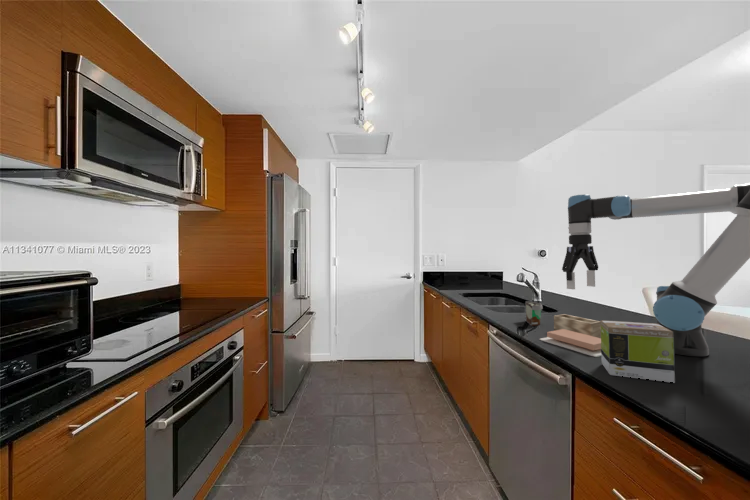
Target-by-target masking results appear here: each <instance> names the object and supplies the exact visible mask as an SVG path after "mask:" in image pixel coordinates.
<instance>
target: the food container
mask: <svg viewBox="0 0 750 500" xmlns="http://www.w3.org/2000/svg"><path fill="white" fill-rule="evenodd" d="M543 309H544V308H543V305H542V303H541V302H540V303H539V302H538V301H537V302H536V301H527V300H526V301H525V317H526V318H525V319H526V322H527V323H528V324H529V325H530V326H532V327H537V326H540V325H541V320H542V319H541V318H542V310H543Z"/></svg>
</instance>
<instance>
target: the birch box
mask: <svg viewBox="0 0 750 500" xmlns="http://www.w3.org/2000/svg"><path fill="white" fill-rule="evenodd" d="M561 329H565V330H569V331H573V332H577V333H581V334H585V335H589V336H593V337H597V338H601V320H600V321H599V320H595V319H590V318H586V317H581V316H576V315H575V316H574V315H571V314H566V313H563V314H562V313H561V314H557V315H556V314H555V315H553V331H555V330H561Z"/></svg>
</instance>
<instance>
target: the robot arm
mask: <svg viewBox="0 0 750 500" xmlns="http://www.w3.org/2000/svg"><path fill="white" fill-rule="evenodd" d="M567 200H568V203H567V205H568V206H567V217H568V227H567V228H568V234H569V235H568V244H569V245H572V246H566V252H565V253H566V254H565V257H564V261H563V264H562V267H561V270H562V272H564V273H565V275H566V276H565V277H566V289H567V290H576V278H575V276H576V275H575V273H576V272H574V270H575V268H576V266H577V264H578V261H579V260H580V259H582V261H583V263H584V264H585V266H586V268H587V270H586V287H593V288H594V287H596V271H598V269H599V264H598V262H597V261H598V260H597V258H596V255H595V254H596V253H595V252H594V246H593V245H591V244H592V242H593V240H592V234H591V233H592V219H604V218H606V219H607V218H609V219H610V220H621V219H632V218H634V219H635V218H646V217H647V218H648V217H651V218H652V217H663V216H664V217H665V216H679V215H695V214H709V213H710V214H713V213H723V212H724V213H726V212H729V213H731V214H734V215H736V216H735V217H734V218H733V219H732V221H731V222H730V223H729V224H728V226H727V227H726V228H724V230H723V231H722V233H721V234H720V235H719V236H718V237H717V238H716V240H715V241H714V242H713V243H712V244H711V245H710V246H709V248H707V250H706V251H705V253H704V254H703V255H702V256H701V257H700V259H699V260H698V261H697V262H696V263H695V264H694V265H693V266H692V267H691V269H690V270H689V271H688V272H687V273H686V275H685V276H684V277H683V278H682V279H681V280H678V281H672V282H671V283H670V285H660V286H658V287H657V289H656V292H655V295H656V301H654V304H653V306H652V312H653V316H654V317H655V318H656V324H659V325H661V326H663V327H665V328H667V329H669V330H671V331H673V337H674V355H675V354H676V355H679V356H680V355H682V356H685V357H687V356H689V357H707V356H709V355H710V348H709V345H708V342H707V341H706V338H705V336H704V334H703V331H702V328H703V327H702V324H703V323H704V320H705V317H706V316H707V315H708V314H709V313H710V312H711V311H712V309H714V308H715V306H716V305H717V304H718V301H717V298H716V295H717V294H718V293H719V292H720V291H721V290H723V288H724V286H726V285H727V284H728V283H729V281H730V280H731V279H732V278H733V277H734V276H735V275H736V274H737V273H738V271H740V269H741V268H742V267H743V266H744V265H745V264H746V262H747V261H749V260H750V182H748V183H744V184H734V185H733V186H731V187H730V188H726V189H723V188H722V189H714V190H706V191H697V192H686V193H677V194H675V193H674V194H666V195H655V196H645V197H644V196H643V197H636V198H631V197H630V195H615V196H608V197H601V198H591V195H590V194H577V195H576V194H575V195H572V196H570V197H568V199H567Z"/></svg>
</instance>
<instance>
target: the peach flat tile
mask: <svg viewBox="0 0 750 500" xmlns="http://www.w3.org/2000/svg"><path fill="white" fill-rule="evenodd" d="M546 337H549V338H553V339H556V340H559V341H563V342H566V343H569V344H573V345H576V346H580V347H583V348H587V349H590V350H597V349H601V338H597V337H593V336H589V335H585V334H581V333H577V332H573V331H569V330H565V329H561V330H555V331H554V330H551V331H547V332H546Z"/></svg>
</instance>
